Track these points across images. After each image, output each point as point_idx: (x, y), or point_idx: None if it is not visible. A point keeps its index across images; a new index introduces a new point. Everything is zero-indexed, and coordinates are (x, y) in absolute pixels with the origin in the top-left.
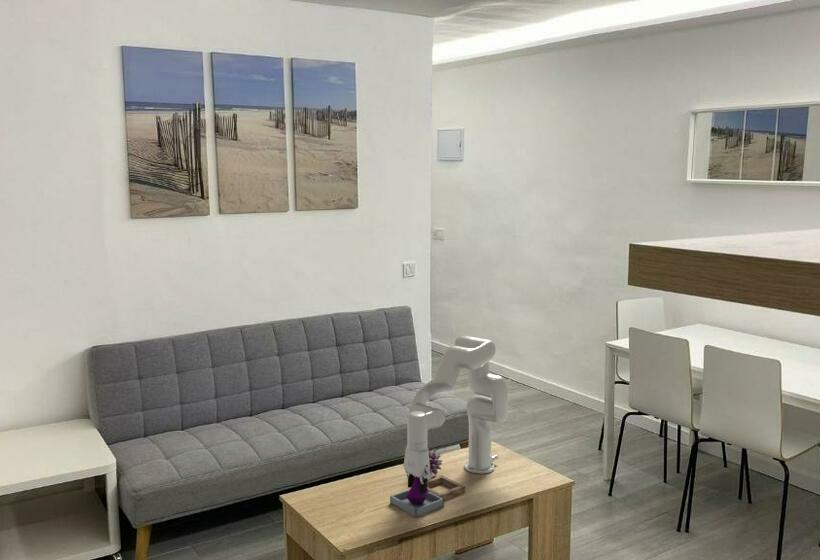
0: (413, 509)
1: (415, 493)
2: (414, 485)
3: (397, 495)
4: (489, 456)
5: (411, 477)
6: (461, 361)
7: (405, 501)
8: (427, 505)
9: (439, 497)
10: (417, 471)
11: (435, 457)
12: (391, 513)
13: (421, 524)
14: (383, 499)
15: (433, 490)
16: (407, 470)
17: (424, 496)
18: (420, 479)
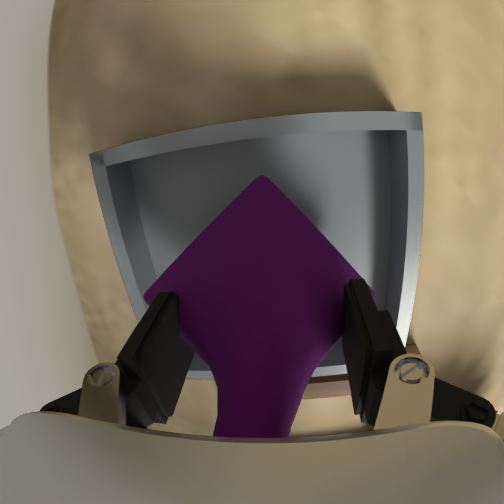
0: (116, 146)
1: (205, 262)
2: (242, 320)
3: (405, 177)
4: None
5: (367, 385)
6: None
7: (343, 207)
8: (116, 261)
9: (188, 374)
10: (16, 489)
11: None
12: (257, 32)
13: (50, 139)
14: (464, 121)
15: (302, 397)
16: (382, 465)
17: (146, 297)
18: (110, 406)
